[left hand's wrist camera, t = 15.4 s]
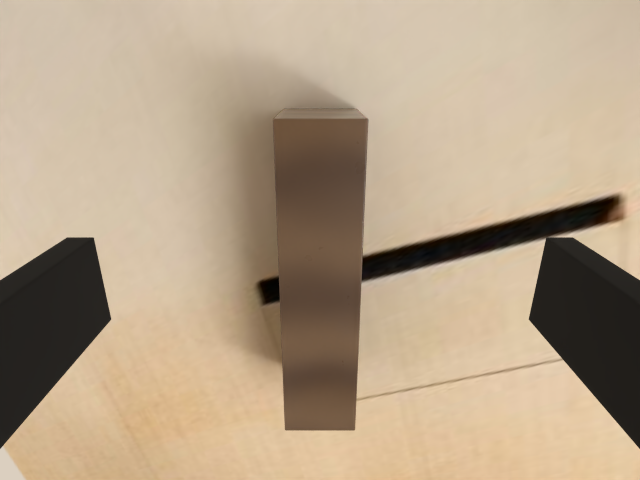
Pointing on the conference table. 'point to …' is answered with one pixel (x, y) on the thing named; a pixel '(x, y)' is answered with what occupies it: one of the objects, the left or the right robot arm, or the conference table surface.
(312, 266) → the bar
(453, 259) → the conference table surface
